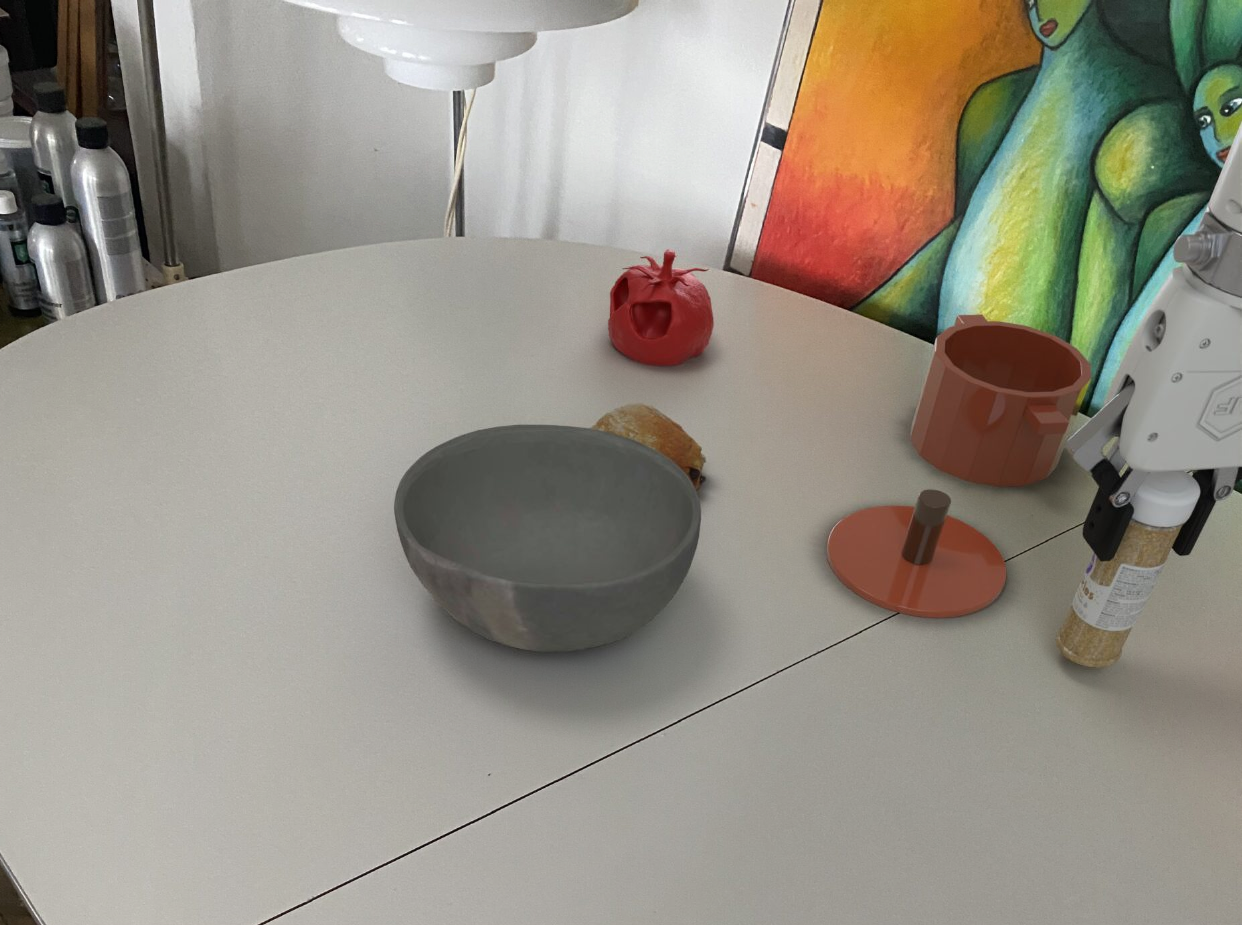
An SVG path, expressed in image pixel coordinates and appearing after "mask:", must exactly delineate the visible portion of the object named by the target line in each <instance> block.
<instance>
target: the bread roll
mask: <svg viewBox="0 0 1242 925" xmlns="http://www.w3.org/2000/svg"><path fill="white" fill-rule="evenodd" d="M589 429H594V430H600V431H604V432H609V433H613V434H616V435H620V436H623V437H626V438H629V439H632V440H635V441H637V442H640V443H642V444H644V445H646V446H649V447H650V448H652V449H654V450H656V451H658V452H660V453H661V454H663V455H664V456H666V457H668V458H669V459H671V460H672V461H673V462H674V463H675V464H677V465H678V466H679V467H680V468H681V469H682V470H683V472H684V473H685V474H686V475H687V476H688V477H689V479H690V480H691V482H692V483H693V485H694V487H695V489H696V491H697V492H698V490H699V489H700V486H701V485H702V484H703V483H705V482H706V476H704V475H702V472H703V469H704V464H705V463H706V462H707V459H706V456H705V455H704V454H703V453H702V450H703V447H702V446H701V445H699V443H698V442H697V441H696V440H695V439H694V438H693V437H692V436H690V435H689V434H688V432H686V431H685V430H684V429H683V427H682V426H681V425H680V424H678V423H677V422H675V421H674V420H672V419H671V418H670V417H668V416H667V415H666V414H664V413H663V412H661V411H660V410H658V409H657V408H656V407H654V406H653V405H651V404H646V403H640V402H639V403H629V404H625V405H622V406H620V407H617V408H614V409H612V410H610V411H608V412H606V413H604V415H602V416H601V417H600V418H599V419H598V420H597V421H596V422H595V424H594V425H591V427H589Z"/></svg>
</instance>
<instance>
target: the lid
mask: <svg viewBox="0 0 1242 925" xmlns="http://www.w3.org/2000/svg"><path fill="white" fill-rule="evenodd" d="M951 505H952V499H951V497H950V496H949V495H948V494H947V493H945V492H944V491H941V490H938V489H924V490H922V491H920V492H919V493H918V496H917V498H916V502H915V506H910V505H909V506H908V505H879V506H873V507H867V508H864V509H860V510H857V511H854V512H853V513H850V514H848V515H846V516H845V517H843V518H842V519H840V520H839V521H838V522H837V523H836V524H835V525H834V527H833V528H832V530H831V531H830V533H829V537H828V539H827V543H826V552H825V553H826V559H827V561H828V564H829V567H830V568H831V570H832V572H833V573H834V575H835V576H836V577H837V579H838V580H839V581H840V582H841V583H842V584H843V585H844V586H845V587H846V588H848V589H849V590H850V591H852V592H853V593H854V594H856V595H857V596H859V597H860V598H862V599H864V600H866V601H867V602H870V603H871V604H874V605H875V606H878V607H881V608H884V609H885V610H889V611H893V612H895V613H898V614H904V615H907V616H912V617H913V616H914V617H920V618H932V619H949V618H956V617H957V618H958V617H962V616H967V615H970V614H974V613H976V612H979V611H981V610H983V609H985V608H986V607H988V606H990V605H991V604H992V603H993V602H994V601H995V600H997V598H998V597H999V596H1000V594H1001V593H1002V591H1003V589H1004V586H1005V583H1006V580H1007V565H1006V562H1005V560H1004V557H1003V556H1002V554H1001V551H1000V550H999V549H998V548H997V546H996V545H995V544H994V543H993V542H992V541H991V540H990V538H988V537H987V536H986V535H985V534H983V533H982V532H981V531H979V530H978V529H976V528H975V527H973V526H971V525H970V524H969V523H968V524H967V523H966V522H964V521H962V520H960V519H958V518H955V517H953V516H950V515H948V513H949V511H950V507H951Z"/></svg>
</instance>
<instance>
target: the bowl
mask: <svg viewBox="0 0 1242 925" xmlns="http://www.w3.org/2000/svg"><path fill="white" fill-rule="evenodd" d="M393 502H394V503H393V511H394V519H395V525H396V529H397V530H396V531H397V534H398V538H399V541H400V544H401V548H402V550H403V553H404V556H405V557H406V558H405V559H406V560H407V562H408V564H409V567H410V568H411V570H412V571H413V573H414V575H415V577H416V578H417V579H418V580H419V582H420V583H421V585H422V586H423V587H424V589H425V590H426V591H427V592H428V593H429V594H430V595H431V596H432V598H433V599H434V601H436V602H437V604H438V605H439V606H440V607H441V608H442V609H443V610H444V611H445V612H447V614H449V615H450V616H451V617H452V618H453V619H454V620H455V621H457V622H458V623H459V624H460V625H462V626H463V627H465V628H467V629H469V630H470V631H471V632H473V633H475V634H477V635H479V636H481V637H483V638H485V639H487V640H489V641H491V642H496V643H499V644H502V645H505V646H508V647H510V648H511V647H512V648H515V649H520V650H523V651H524V650H525V651H526V650H527V651H534V652H547V653H548V652H549V653H550V652H551V653H552V652H553V653H557V652H558V653H559V652H572V651H580V650H584V649H585V650H587V649H593V648H597V647H600V646H604V645H607V644H610V643H613V642H616V641H619V640H621V639H624V638H627V637H628V636H630V635H632V634H633V633H636V632H637V631H638V630H640V629H641V628H643V627H644V626H646V625H648V623H650V622H651V621H653V619H654V618H656V617H657V616H658V615H659V614H660V613H661V612H662V611H664V609H665V608H666V607H667V605H668V604H669V603H670V602H671V600H672V599H673V598H674V596H675V595H676V594H677V592H678V591H679V590H680V588H681V586H682V584H683V583H684V580H685V579H686V577H687V575H688V573H689V571H690V568H691V566H692V563H693V560H694V557H695V554H696V551H697V548H698V543H699V540H700V533H701V532H700V531H701V523H702V507H701V501H700V496H699V494H698V490H697V491H696V489H695V487H694V485H693V483H692V482H691V480H690V479H689V477H688V476H687V475H686V474H685V473H684V472H683V470H682V469H681V468H680V467H679V466H678V465H677V464H675V463H674V462H673V461H672V460H671V459H669V458H668V457H666V456H664V455H663V454H661V453H660V452H658V451H656V450H654V449H652V448H650V447H649V446H646V445H644V444H642V443H640V442H637V441H635V440H632V439H629V438H626V437H623V436H620V435H616V434H613V433H609V432H604V431H600V430H594V429H590V427H589V428H588V427H582V426H581V427H580V426H570V425H557V424H511V425H501V426H493V427H488V428H483V429H477V430H473V431H471V432H467V433H464V434H461V435H458V436H455V437H453V438H451V439H449V440H447V441H444V442H442V443H441V444H438V445H436V446H435V447H433V448H432V449H430V450H428V451H426V452H425V453H424V454H422V455H421V456H420V457H419V458H418V459H417V460H416V461H415V462H413V464H412V465H410V467H409V468H408V469H407V470H406V471H405V472H404V475H402V477H401V479H400V480H399V482H398V486H397V487H396V493H395V496H394V500H393Z"/></svg>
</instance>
